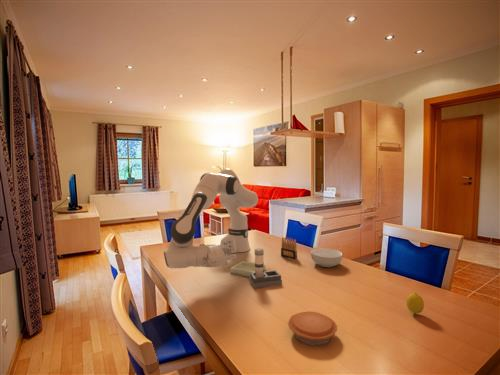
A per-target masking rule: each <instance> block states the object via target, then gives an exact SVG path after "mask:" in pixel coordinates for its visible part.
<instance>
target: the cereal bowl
mask: <svg viewBox="0 0 500 375" xmlns="http://www.w3.org/2000/svg"><path fill="white" fill-rule="evenodd" d="M310 256H311V260H312V262H314V263H315V264H317V265H319V266H320V267H324V268H332V267H334V266H337V265H340V263H341V262H342V260H343V253H342V251H341V250H337V249H334V248H327V247H326V248H325V247H324V248H319V247H318V248H315V249H312V250H311V252H310Z"/></svg>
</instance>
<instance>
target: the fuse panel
mask: <svg viewBox="0 0 500 375" xmlns="http://www.w3.org/2000/svg"><path fill="white" fill-rule="evenodd" d="M249 281H250V283H251V285H252V286H253V288H254V289H259V288H260V289H261V288H265V287H266V288H268V287H274V286H281V285H282V284H283V281H282V275H281V274H280V273H279V272H278V271H277V270H276V269H275V270H267V271H266V270H265V271H264V277H257V278H256V277H255V273H250V277H249Z"/></svg>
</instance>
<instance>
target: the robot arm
mask: <svg viewBox="0 0 500 375" xmlns="http://www.w3.org/2000/svg"><path fill="white" fill-rule="evenodd" d="M218 195H219V198H218V199H219V203H220V205H221V206H222V207H224V208H225V209H226V212H227V213H228V215H229V220H230V227H229V228H228V229H227V232H228V233H227V234H226V235H225V236H223V237H222V238H221V240H220V244H205V243H201V244H199V245H196V246H195V245H193V244H194V240H195V234H196V222H197V220H198V218H199V217H200V216H201V215H200V214H201V212H202V211H203V210H208V209H209V208H211V206H212V205H213V203H214V202H215V200H216V197H217V196H218ZM258 202H259V197H258V194H257V193H256V192H255V191H253V190H250V189H248V188H247V187H245V186H243V184H242V182H241V181H240V180H239V177H238V176H237V174H236V172H234V170H232V169H231V168H223V169H222V170H220V172H219V173H215V172H214V173H213V172H206V173H204V174H202V175H201V176H200V179H199V182H198V183H197V185H196V187H195V189H194V190H193V193H192V195H191V200H190V202H189V203H188V206H187V207H186V208H185V210H184V212H183V214H182V215H181V216H179V218H177V219H176V220H175V221H174V222H173V223H171V226H170V236H171V238H170V241H169V243H168V246H167V247H166V249H164V252H163V258H164V261H165V265H166V267H167V268H169V269H186V268H187V269H188V268H190V267H192V268H193V267H194V268H198V267H207V266H208V265H207V263H208V264H209V266H210V267H211V266H212V267H213V266H214V267H216V266H217V267H218V266H225V265H227V264H228V261H231V260H235V259H236V258H237V255H236V254H237V253H244V252H245V253H246V252H249V251H250V250H251V247H250V242H249V228H248V216H247V215H246V214H245V213H244V212H242V211H241V210H240V209H239V208H246V209H247V208H253V207H256V206H257V204H258ZM224 252H226V253H228V254H227V255H225V253H224ZM229 253H230V254H229Z"/></svg>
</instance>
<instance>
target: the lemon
mask: <svg viewBox="0 0 500 375" xmlns="http://www.w3.org/2000/svg"><path fill="white" fill-rule="evenodd" d="M406 307H407V309H408V311H410V312H411V313H413V314H414V315H417V314H420V313H422V312H423V311H424V307H425V303H424V298H423V297H422V296H421V295H420V294H418V292H417V293H416V292H413V293H410V294H409V295H408V296H407V298H406Z"/></svg>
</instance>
